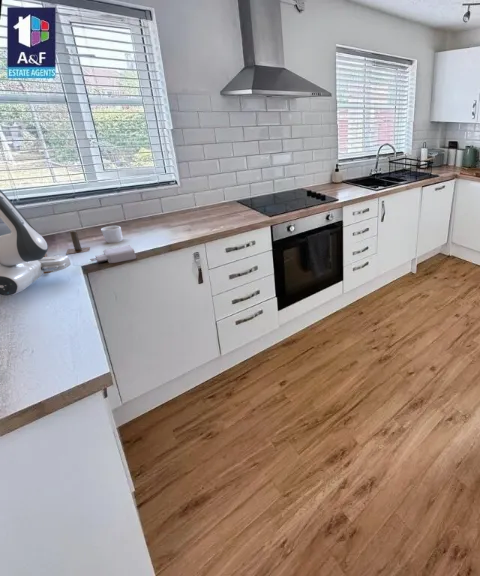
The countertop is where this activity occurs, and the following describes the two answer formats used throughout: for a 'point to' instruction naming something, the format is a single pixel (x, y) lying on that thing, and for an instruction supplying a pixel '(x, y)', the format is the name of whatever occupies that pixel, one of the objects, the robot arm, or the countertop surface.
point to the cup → (112, 234)
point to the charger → (116, 254)
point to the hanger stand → (76, 244)
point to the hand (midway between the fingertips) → (42, 258)
